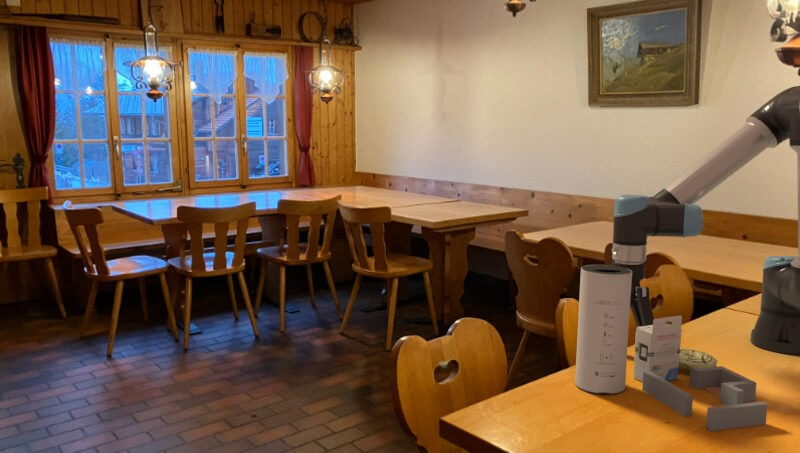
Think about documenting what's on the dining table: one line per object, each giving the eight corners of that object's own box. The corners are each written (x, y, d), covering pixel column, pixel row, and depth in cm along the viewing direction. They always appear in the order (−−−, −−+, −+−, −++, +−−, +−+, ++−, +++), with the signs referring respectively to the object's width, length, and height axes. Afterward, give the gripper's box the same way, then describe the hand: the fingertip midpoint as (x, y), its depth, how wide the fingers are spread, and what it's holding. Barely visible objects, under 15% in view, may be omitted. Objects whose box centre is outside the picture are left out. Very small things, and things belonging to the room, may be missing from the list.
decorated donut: (710, 381, 150) (712, 364, 150) (660, 371, 156) (661, 355, 156) (720, 367, 159) (721, 351, 158) (671, 358, 165) (672, 343, 164)
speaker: (626, 380, 150) (632, 263, 146) (626, 398, 140) (633, 273, 136) (576, 375, 153) (580, 260, 149) (573, 392, 143) (578, 270, 140)
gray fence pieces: (717, 382, 149) (718, 364, 148) (792, 421, 129) (794, 401, 129) (642, 389, 144) (643, 371, 144) (708, 431, 125) (709, 410, 124)
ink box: (661, 372, 155) (666, 309, 152) (678, 380, 150) (683, 315, 148) (632, 377, 151) (636, 313, 149) (648, 385, 147) (653, 319, 144)
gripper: (587, 252, 171) (583, 334, 174) (645, 273, 147) (640, 368, 150) (614, 251, 172) (610, 332, 175) (676, 271, 148) (670, 365, 151)
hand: (624, 349), depth 162 cm, fingers open, 13 cm apart
